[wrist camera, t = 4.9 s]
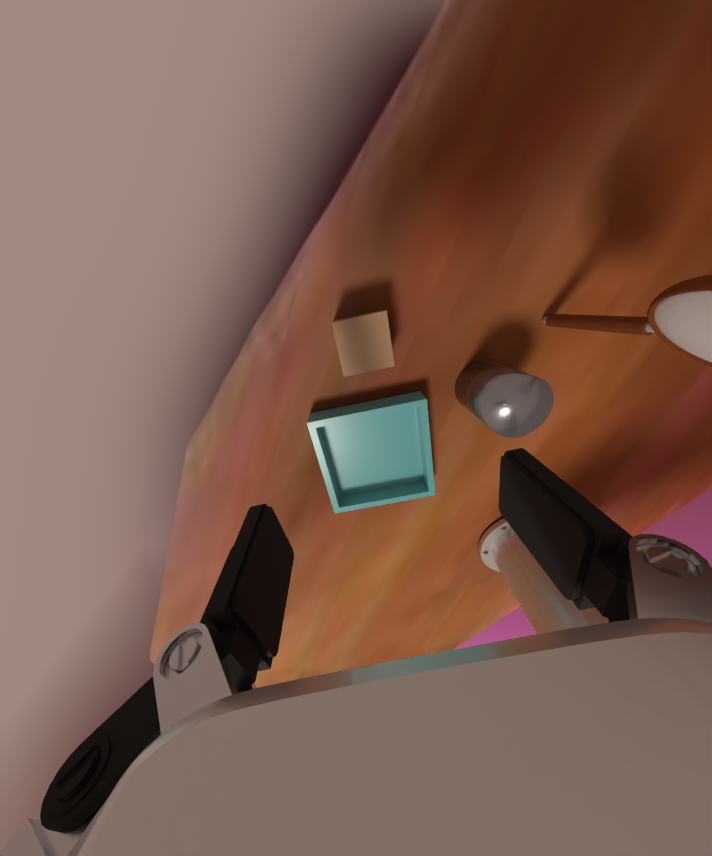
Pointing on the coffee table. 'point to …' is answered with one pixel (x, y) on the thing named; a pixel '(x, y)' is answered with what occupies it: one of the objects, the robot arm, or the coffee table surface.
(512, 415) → the metal tin
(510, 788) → the robot arm
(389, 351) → the walnut block
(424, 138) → the coffee table surface
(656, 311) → the magnifying glass
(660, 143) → the coffee table surface
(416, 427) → the teal tray
